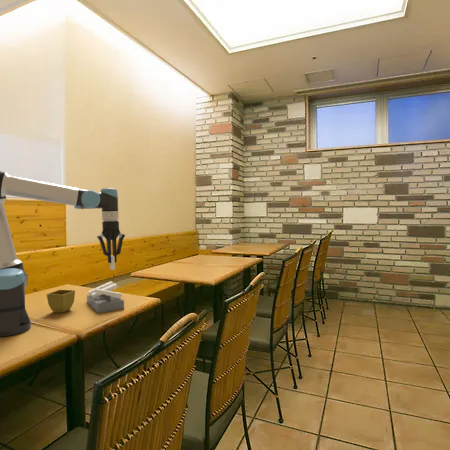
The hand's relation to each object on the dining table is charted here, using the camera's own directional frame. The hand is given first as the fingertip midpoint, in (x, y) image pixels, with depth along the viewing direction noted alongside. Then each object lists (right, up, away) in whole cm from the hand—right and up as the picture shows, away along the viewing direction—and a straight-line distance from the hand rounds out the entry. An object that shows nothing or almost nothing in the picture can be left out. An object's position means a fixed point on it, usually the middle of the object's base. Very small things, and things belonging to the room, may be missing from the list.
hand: (112, 269), depth 161 cm
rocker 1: (-8, -11, +8) cm, 16 cm away
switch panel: (-5, -18, +3) cm, 19 cm away
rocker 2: (-5, -11, +2) cm, 12 cm away
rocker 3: (-1, -11, -3) cm, 11 cm away
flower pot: (-22, -19, -6) cm, 29 cm away
